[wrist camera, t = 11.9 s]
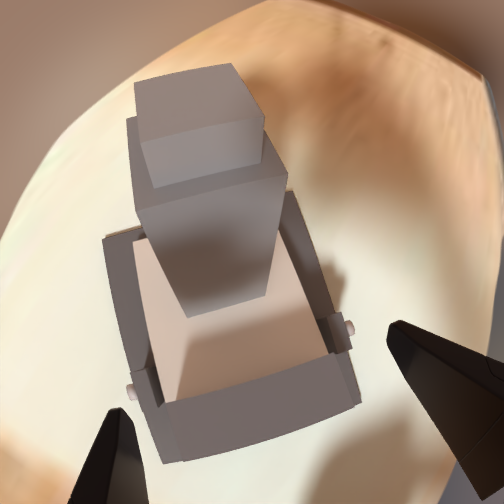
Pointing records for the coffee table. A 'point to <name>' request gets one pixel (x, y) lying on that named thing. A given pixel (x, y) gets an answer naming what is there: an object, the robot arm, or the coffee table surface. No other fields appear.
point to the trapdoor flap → (239, 362)
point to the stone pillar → (206, 185)
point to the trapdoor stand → (137, 335)
